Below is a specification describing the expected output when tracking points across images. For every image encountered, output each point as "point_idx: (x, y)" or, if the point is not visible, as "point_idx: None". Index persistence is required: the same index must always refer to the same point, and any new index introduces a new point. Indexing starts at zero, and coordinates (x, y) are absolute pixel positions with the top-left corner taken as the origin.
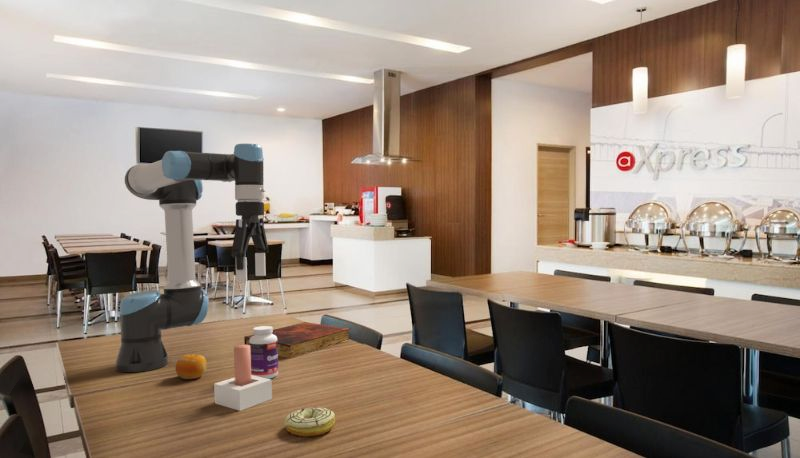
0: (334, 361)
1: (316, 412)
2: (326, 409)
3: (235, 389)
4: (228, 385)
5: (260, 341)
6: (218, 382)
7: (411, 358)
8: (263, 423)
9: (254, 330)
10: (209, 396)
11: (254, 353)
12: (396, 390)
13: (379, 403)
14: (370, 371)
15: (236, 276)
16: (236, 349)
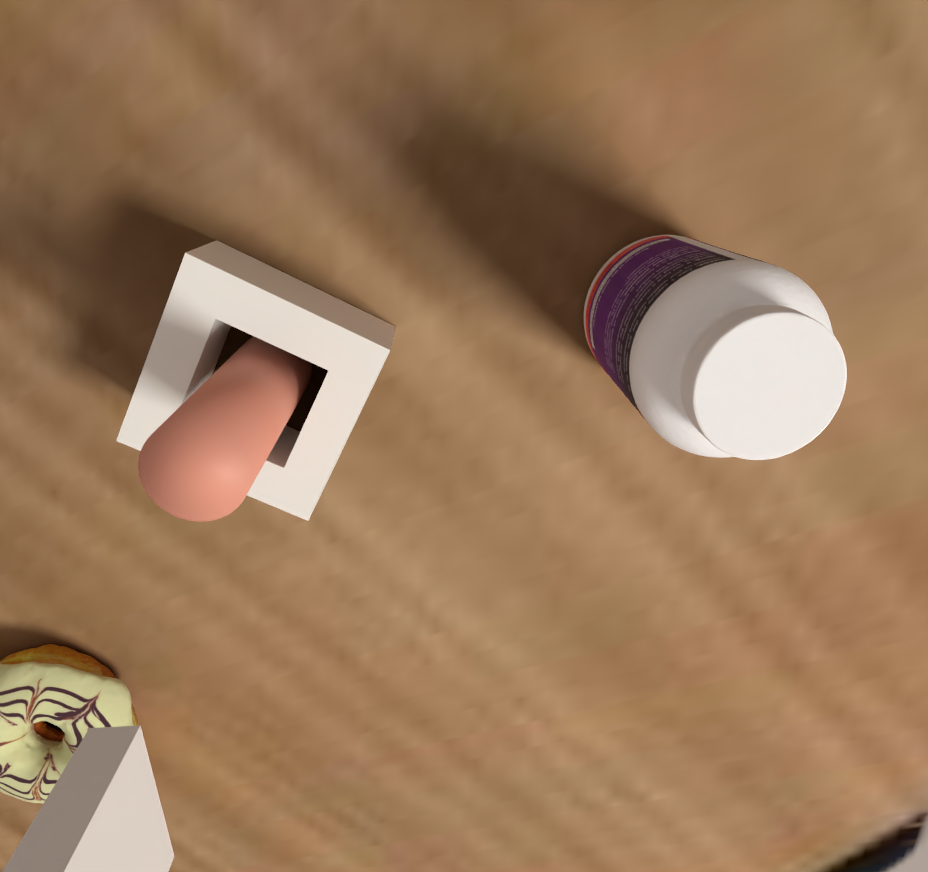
0: (909, 567)
1: (69, 755)
2: None
3: (126, 413)
4: (174, 348)
5: (638, 385)
6: (209, 267)
7: (908, 847)
8: (58, 549)
9: (711, 341)
10: (308, 155)
11: (619, 319)
12: (482, 862)
13: (340, 839)
14: (723, 744)
15: (39, 822)
16: (140, 454)
